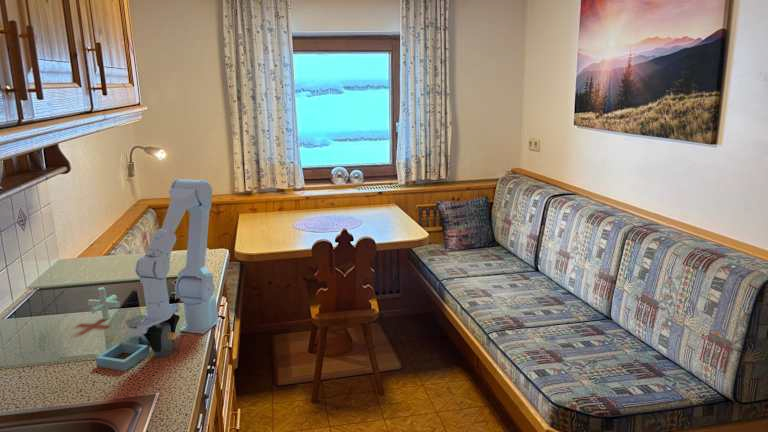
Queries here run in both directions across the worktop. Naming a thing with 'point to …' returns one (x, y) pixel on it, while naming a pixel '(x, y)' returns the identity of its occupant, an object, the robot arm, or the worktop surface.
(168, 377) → the worktop surface
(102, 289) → the pipe connector
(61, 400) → the worktop surface
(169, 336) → the dark grey rounded cylinder
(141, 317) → the motor
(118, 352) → the light blue shallow tray
